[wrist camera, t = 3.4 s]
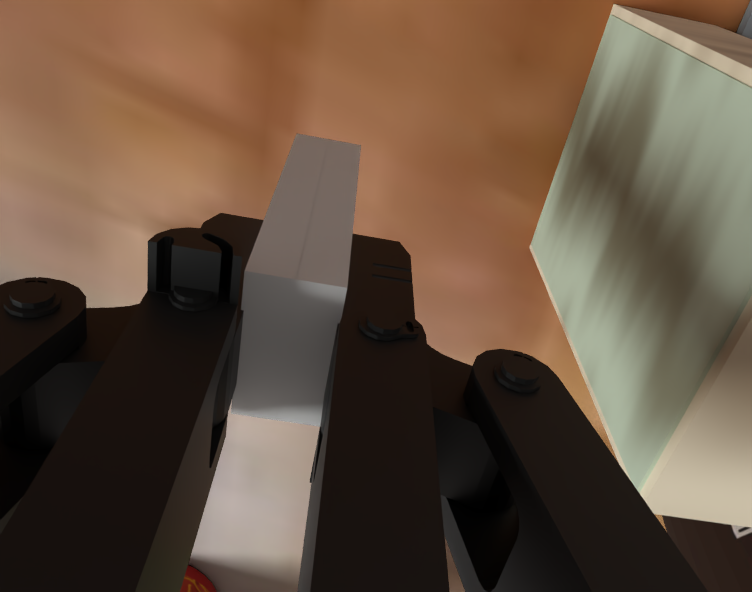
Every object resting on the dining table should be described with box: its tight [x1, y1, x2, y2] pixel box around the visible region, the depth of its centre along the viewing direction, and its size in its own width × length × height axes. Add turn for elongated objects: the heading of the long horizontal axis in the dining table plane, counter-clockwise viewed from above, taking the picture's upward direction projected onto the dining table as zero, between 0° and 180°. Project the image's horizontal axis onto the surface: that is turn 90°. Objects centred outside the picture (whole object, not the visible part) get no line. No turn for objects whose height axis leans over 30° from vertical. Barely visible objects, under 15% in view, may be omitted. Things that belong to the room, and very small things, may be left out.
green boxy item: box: [530, 4, 752, 528], centre depth 18 cm, size 9×4×13 cm, turn 169°
